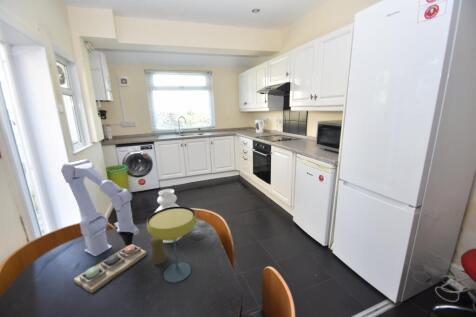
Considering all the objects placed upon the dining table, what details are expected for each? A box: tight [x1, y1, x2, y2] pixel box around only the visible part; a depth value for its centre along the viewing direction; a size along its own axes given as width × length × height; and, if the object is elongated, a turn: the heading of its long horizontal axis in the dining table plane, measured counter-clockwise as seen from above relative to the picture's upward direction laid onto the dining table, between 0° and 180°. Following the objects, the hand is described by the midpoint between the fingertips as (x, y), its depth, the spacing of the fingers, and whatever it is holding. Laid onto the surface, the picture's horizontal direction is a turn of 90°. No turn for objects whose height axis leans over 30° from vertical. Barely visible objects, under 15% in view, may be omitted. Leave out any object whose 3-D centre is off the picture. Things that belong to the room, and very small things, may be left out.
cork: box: [150, 236, 167, 265], centre depth 93 cm, size 6×6×11 cm
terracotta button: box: [124, 245, 136, 255], centre depth 96 cm, size 4×4×2 cm
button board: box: [73, 243, 148, 294], centre depth 90 cm, size 12×24×3 cm, turn 152°
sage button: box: [84, 265, 100, 279], centre depth 82 cm, size 4×4×2 cm
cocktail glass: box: [146, 205, 197, 284], centre depth 83 cm, size 18×18×25 cm
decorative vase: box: [154, 188, 183, 244], centre depth 109 cm, size 18×18×25 cm
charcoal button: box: [105, 253, 119, 266], centre depth 89 cm, size 4×4×2 cm
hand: (128, 244), depth 96 cm, fingers closed
